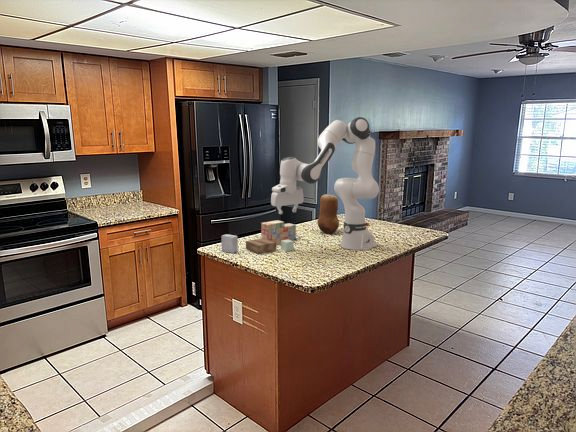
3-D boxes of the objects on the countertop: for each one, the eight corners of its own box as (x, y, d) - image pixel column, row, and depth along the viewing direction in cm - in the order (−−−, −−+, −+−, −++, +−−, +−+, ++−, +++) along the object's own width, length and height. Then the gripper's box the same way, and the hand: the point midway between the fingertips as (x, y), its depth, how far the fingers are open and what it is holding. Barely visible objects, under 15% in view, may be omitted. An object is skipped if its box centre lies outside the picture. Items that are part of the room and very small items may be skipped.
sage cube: (287, 248, 236) (288, 239, 235) (293, 250, 232) (293, 241, 231) (280, 249, 232) (280, 240, 232) (286, 251, 229) (286, 242, 228)
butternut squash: (339, 231, 277) (341, 193, 272) (337, 236, 264) (338, 196, 259) (319, 229, 280) (320, 192, 275) (315, 234, 267) (316, 195, 262)
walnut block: (263, 246, 239) (263, 237, 238) (276, 251, 230) (276, 242, 229) (245, 249, 232) (245, 241, 231) (257, 254, 223) (257, 245, 222)
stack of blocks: (289, 237, 259) (289, 218, 256) (295, 239, 254) (296, 219, 251) (261, 243, 245) (261, 222, 243) (267, 245, 240) (267, 224, 238)
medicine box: (238, 251, 227) (238, 235, 226) (233, 253, 224) (232, 237, 222) (226, 249, 231) (226, 233, 230) (221, 251, 228) (221, 235, 226)
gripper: (298, 185, 234) (298, 210, 237) (269, 188, 222) (269, 214, 224) (306, 187, 229) (305, 211, 232) (276, 189, 217) (276, 215, 219)
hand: (287, 213), depth 228 cm, fingers open, 8 cm apart
